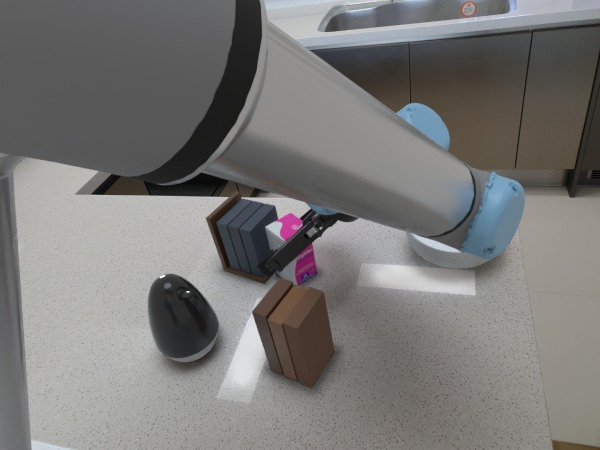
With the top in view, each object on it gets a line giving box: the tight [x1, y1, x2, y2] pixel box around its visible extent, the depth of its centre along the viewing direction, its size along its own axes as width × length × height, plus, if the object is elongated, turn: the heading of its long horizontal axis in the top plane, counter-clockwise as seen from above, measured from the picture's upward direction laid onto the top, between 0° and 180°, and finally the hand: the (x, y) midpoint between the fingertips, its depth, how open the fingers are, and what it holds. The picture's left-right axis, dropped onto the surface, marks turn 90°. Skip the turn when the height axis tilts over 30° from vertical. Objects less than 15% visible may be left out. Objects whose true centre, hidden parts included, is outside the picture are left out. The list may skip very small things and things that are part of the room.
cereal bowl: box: [405, 231, 492, 270], centre depth 81 cm, size 17×17×7 cm
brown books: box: [251, 277, 336, 389], centre depth 66 cm, size 7×7×13 cm
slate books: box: [205, 190, 279, 284], centre depth 86 cm, size 9×10×13 cm
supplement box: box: [265, 212, 318, 286], centre depth 82 cm, size 6×6×11 cm
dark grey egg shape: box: [147, 273, 220, 363], centre depth 71 cm, size 10×10×15 cm
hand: (285, 245), depth 81 cm, fingers open, 13 cm apart
